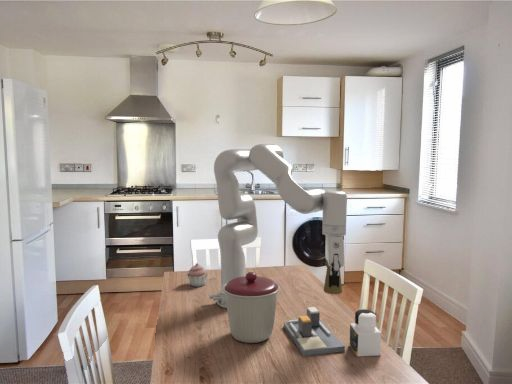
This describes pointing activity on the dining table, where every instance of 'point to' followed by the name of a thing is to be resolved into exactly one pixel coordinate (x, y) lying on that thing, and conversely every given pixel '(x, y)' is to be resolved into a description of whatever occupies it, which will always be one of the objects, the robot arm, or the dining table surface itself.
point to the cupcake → (197, 275)
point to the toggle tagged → (304, 326)
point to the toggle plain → (313, 316)
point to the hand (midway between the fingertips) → (332, 284)
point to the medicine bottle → (365, 334)
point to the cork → (333, 288)
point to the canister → (251, 307)
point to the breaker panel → (314, 339)
